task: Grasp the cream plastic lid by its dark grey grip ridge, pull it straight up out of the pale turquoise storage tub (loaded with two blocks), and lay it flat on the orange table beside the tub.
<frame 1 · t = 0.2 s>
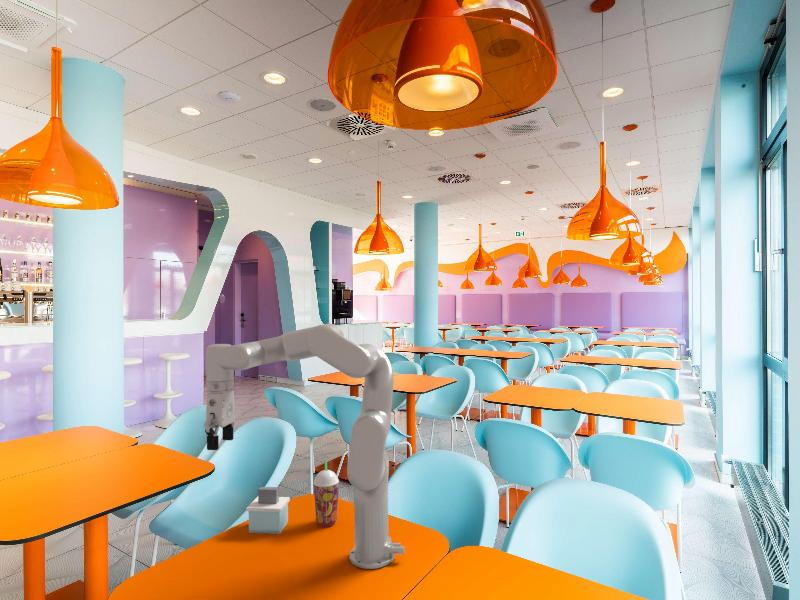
hand: (220, 444, 138), 31 cm above the table, fingers open, 9 cm apart
smoothie: (326, 523, 154), on the table
lid: (268, 508, 152), point 6 cm above the table, touching tub
tub: (268, 527, 152), on the table
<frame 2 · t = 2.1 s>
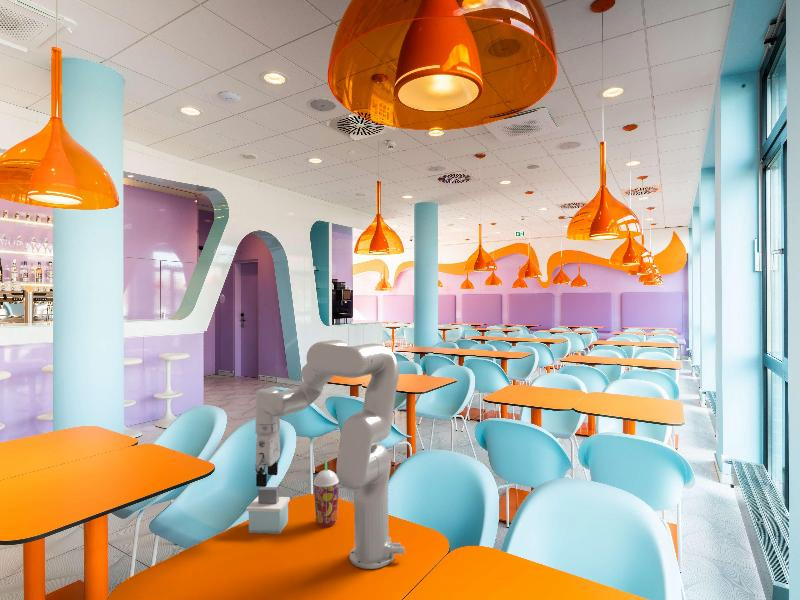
hand: (267, 480, 153), 15 cm above the table, fingers open, 9 cm apart
nothing on the table moved.
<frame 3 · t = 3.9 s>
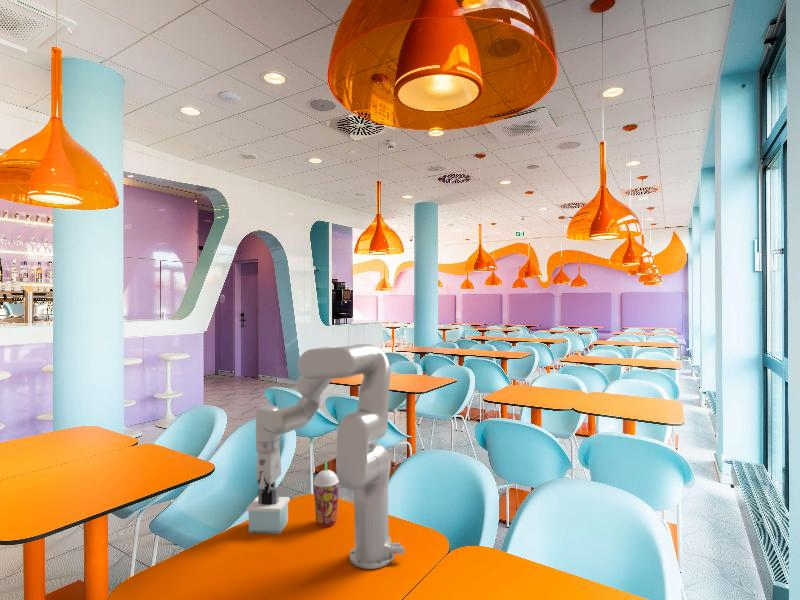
hand: (268, 501, 152), 8 cm above the table, fingers closed on lid
lid: (268, 508, 152), point 6 cm above the table, touching gripper
everything else where it was.
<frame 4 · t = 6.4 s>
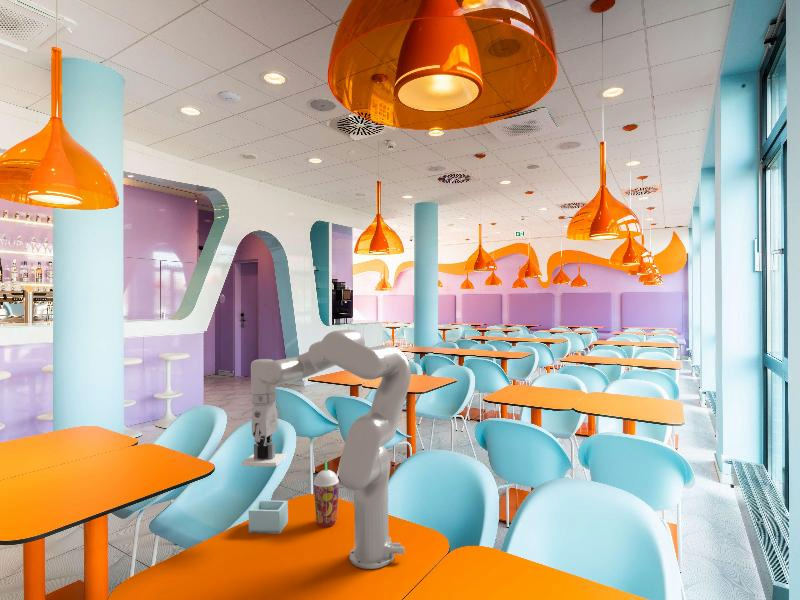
hand: (264, 456, 149), 24 cm above the table, fingers closed on lid
lid: (264, 463, 149), point 22 cm above the table, touching gripper
everything else where it was.
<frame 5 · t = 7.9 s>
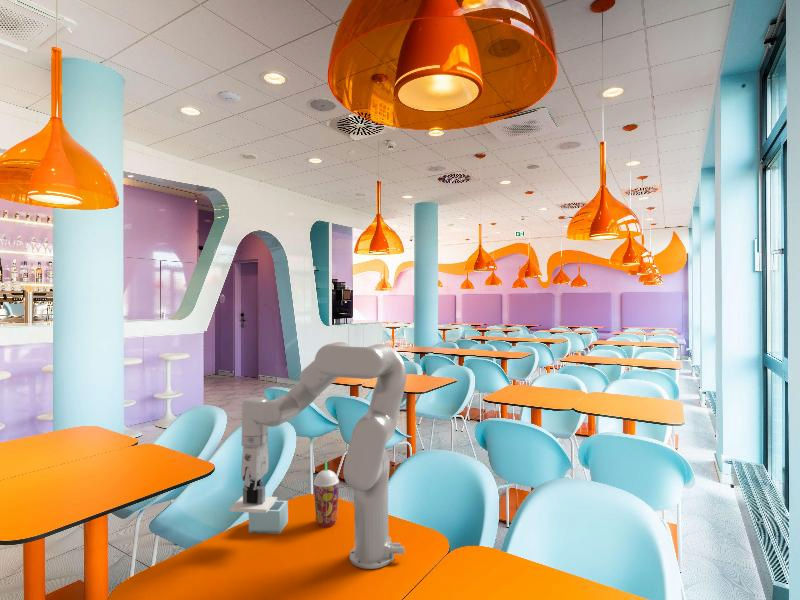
hand: (254, 500, 142), 13 cm above the table, fingers closed on lid
lid: (254, 508, 142), point 10 cm above the table, touching gripper
everything else where it was.
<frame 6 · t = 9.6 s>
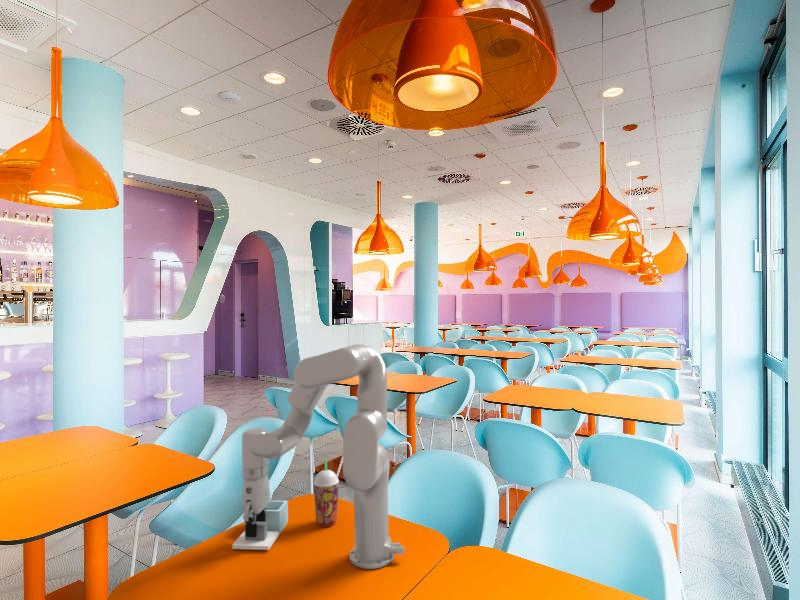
hand: (255, 530, 142), 4 cm above the table, fingers open, 6 cm apart
lid: (256, 544, 142), on the table
everything else where it was.
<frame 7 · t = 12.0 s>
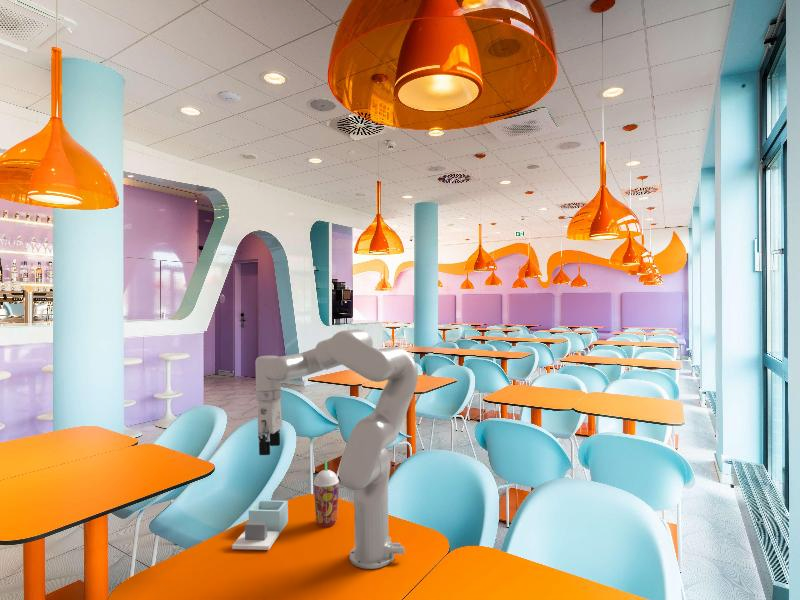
hand: (270, 450, 148), 26 cm above the table, fingers open, 9 cm apart
nothing on the table moved.
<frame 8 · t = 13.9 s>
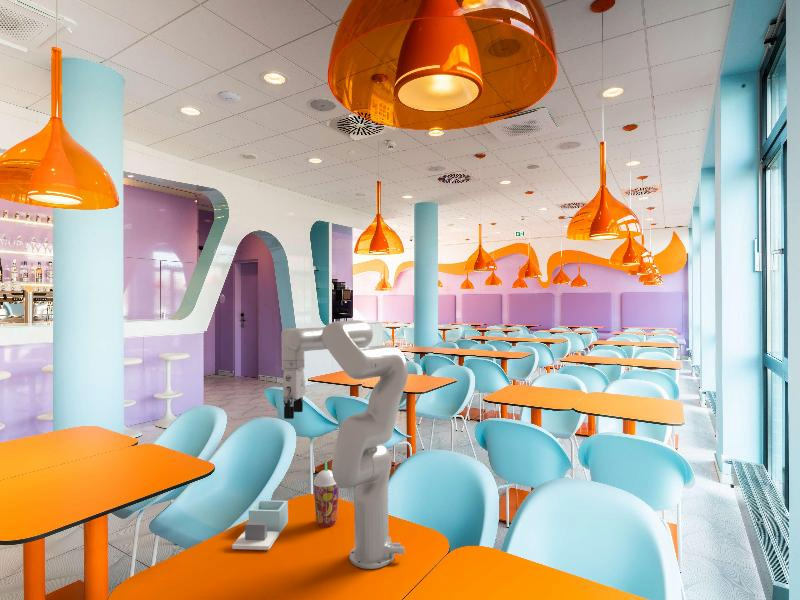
hand: (293, 415, 160), 34 cm above the table, fingers open, 9 cm apart
nothing on the table moved.
at the end: lid inside the target area (0.1 cm from its centre), on the table; lid tilted 0°; lid touching table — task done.
